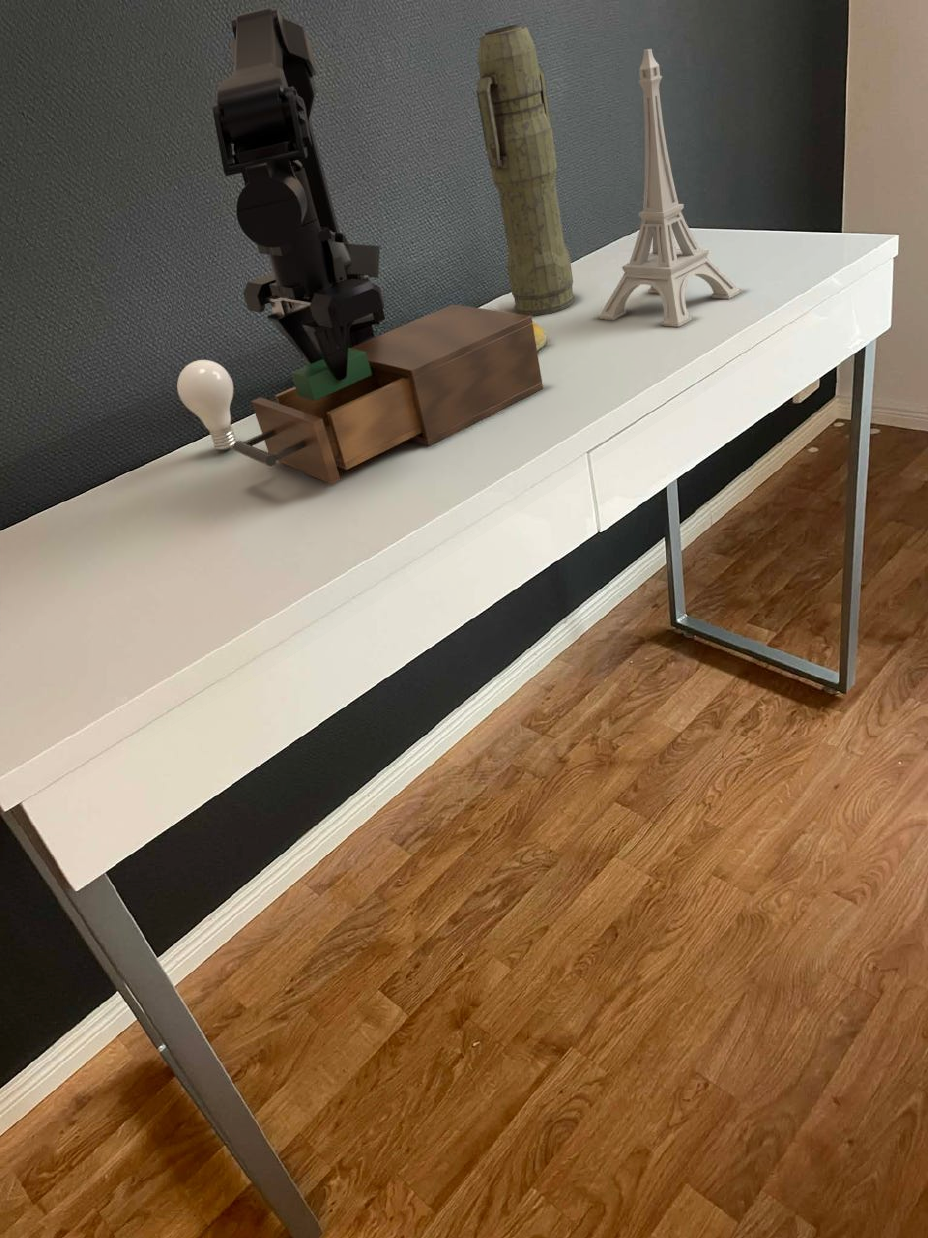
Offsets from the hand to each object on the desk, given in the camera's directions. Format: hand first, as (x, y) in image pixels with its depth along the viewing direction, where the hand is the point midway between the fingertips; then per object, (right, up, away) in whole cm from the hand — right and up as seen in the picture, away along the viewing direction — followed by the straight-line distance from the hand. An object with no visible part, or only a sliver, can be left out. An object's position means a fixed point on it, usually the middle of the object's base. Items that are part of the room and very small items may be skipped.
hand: (332, 376), depth 103 cm
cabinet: (+12, -1, +11) cm, 16 cm away
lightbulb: (-14, -6, +14) cm, 21 cm away
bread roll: (+21, +9, +23) cm, 32 cm away
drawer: (0, -7, +4) cm, 8 cm away
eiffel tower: (+41, +16, +26) cm, 51 cm away
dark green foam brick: (0, -1, +1) cm, 1 cm away
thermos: (+26, +20, +37) cm, 49 cm away
